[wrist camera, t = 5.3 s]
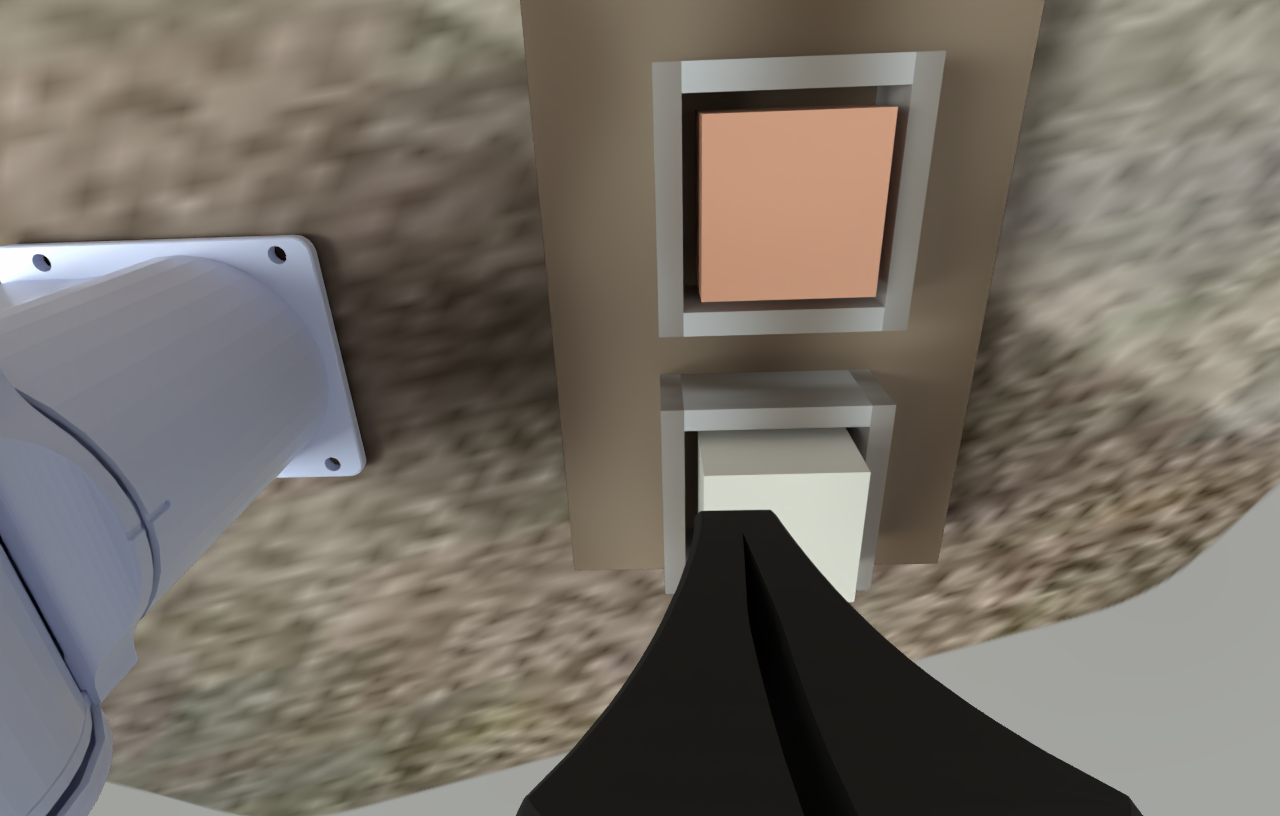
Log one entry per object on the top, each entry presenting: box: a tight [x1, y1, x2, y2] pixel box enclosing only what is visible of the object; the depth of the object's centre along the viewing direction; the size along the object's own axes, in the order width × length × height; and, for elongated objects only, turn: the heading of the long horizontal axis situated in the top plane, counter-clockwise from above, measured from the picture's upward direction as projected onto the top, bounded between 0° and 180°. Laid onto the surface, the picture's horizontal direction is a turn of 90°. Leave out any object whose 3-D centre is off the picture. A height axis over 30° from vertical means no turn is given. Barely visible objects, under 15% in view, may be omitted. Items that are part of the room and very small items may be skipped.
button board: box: [520, 0, 1045, 594], centre depth 17 cm, size 12×24×4 cm, turn 2°
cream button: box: [698, 427, 871, 602], centre depth 18 cm, size 4×4×2 cm
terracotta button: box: [695, 104, 898, 302], centre depth 16 cm, size 4×4×2 cm
